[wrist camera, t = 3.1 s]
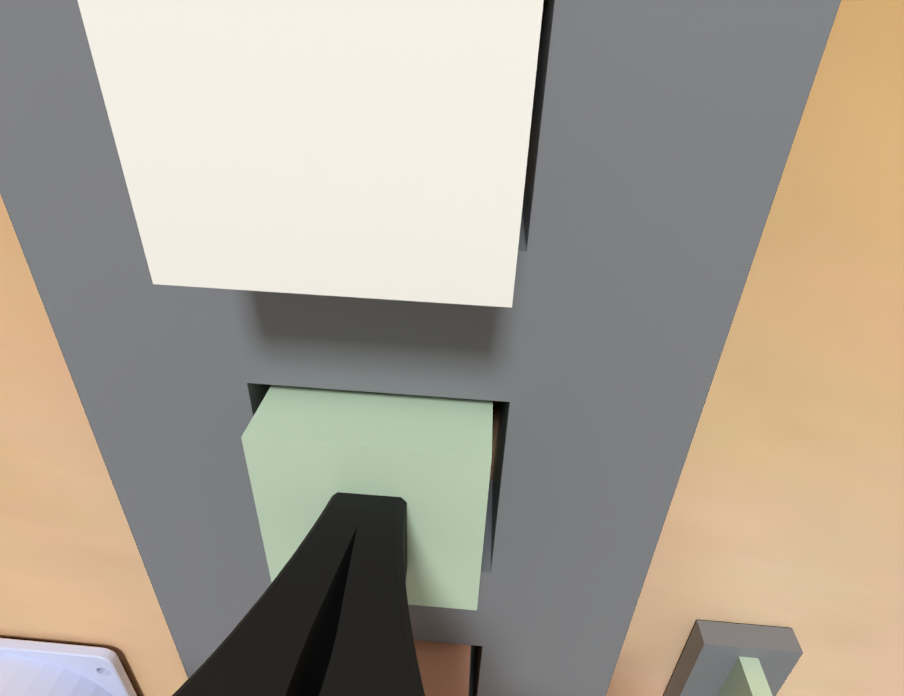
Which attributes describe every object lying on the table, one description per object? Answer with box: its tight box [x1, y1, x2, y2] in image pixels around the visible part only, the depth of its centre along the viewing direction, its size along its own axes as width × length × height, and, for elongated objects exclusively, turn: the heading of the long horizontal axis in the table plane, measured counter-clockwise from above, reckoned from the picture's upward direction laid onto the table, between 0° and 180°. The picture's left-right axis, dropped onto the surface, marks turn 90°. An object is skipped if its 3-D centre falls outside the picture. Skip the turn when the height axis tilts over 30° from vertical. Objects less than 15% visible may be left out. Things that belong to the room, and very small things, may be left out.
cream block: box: [77, 0, 544, 308], centre depth 7 cm, size 4×4×4 cm
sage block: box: [241, 385, 493, 610], centre depth 13 cm, size 4×4×4 cm
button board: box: [0, 0, 841, 696], centre depth 13 cm, size 26×12×3 cm, turn 178°
